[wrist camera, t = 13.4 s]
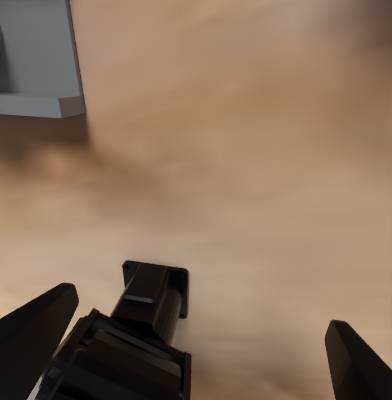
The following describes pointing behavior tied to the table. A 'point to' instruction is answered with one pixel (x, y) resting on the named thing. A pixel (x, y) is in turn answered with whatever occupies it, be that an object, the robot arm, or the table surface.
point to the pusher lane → (39, 60)
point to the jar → (1, 43)
